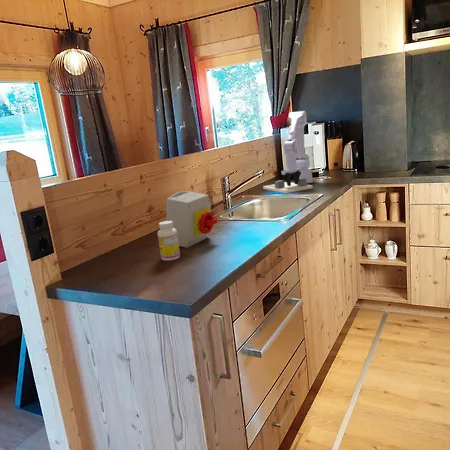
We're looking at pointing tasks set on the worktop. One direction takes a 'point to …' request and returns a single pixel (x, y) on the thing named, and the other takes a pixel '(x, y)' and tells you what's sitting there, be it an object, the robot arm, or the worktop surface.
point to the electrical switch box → (190, 217)
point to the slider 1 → (279, 184)
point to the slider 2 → (302, 181)
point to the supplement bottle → (168, 241)
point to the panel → (288, 188)
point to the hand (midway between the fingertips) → (292, 185)
